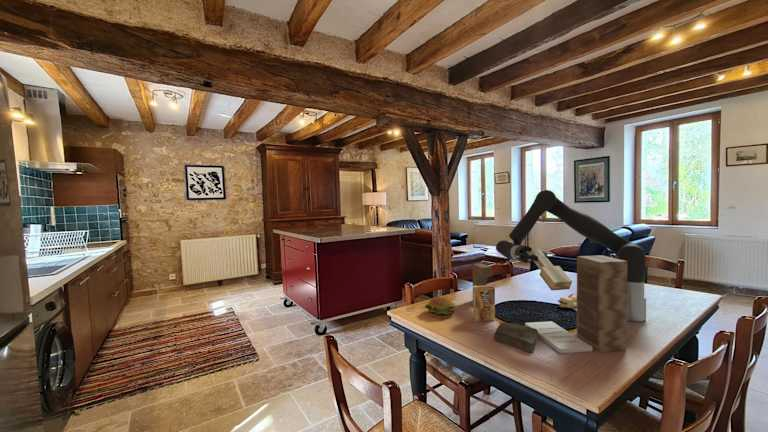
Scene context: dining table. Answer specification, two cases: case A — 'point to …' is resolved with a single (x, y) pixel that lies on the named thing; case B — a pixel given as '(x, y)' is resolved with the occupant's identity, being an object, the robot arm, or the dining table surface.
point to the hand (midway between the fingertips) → (542, 258)
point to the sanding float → (551, 272)
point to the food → (440, 307)
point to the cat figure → (568, 301)
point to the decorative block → (481, 274)
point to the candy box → (484, 303)
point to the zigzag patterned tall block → (602, 302)
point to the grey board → (559, 337)
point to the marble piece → (517, 336)
